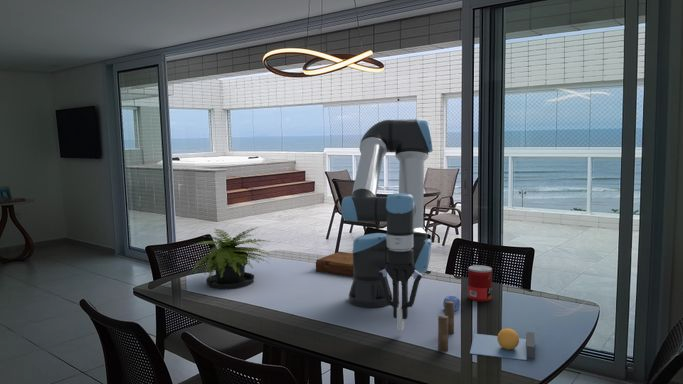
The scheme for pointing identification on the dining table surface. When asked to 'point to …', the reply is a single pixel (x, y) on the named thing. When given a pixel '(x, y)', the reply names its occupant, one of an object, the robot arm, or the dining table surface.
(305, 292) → the dining table surface
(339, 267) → the brown wooden block
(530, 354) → the stopper wall
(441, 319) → the post
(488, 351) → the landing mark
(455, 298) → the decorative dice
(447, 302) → the post
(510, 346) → the ball
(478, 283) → the canned food
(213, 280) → the fern plant
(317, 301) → the dining table surface
